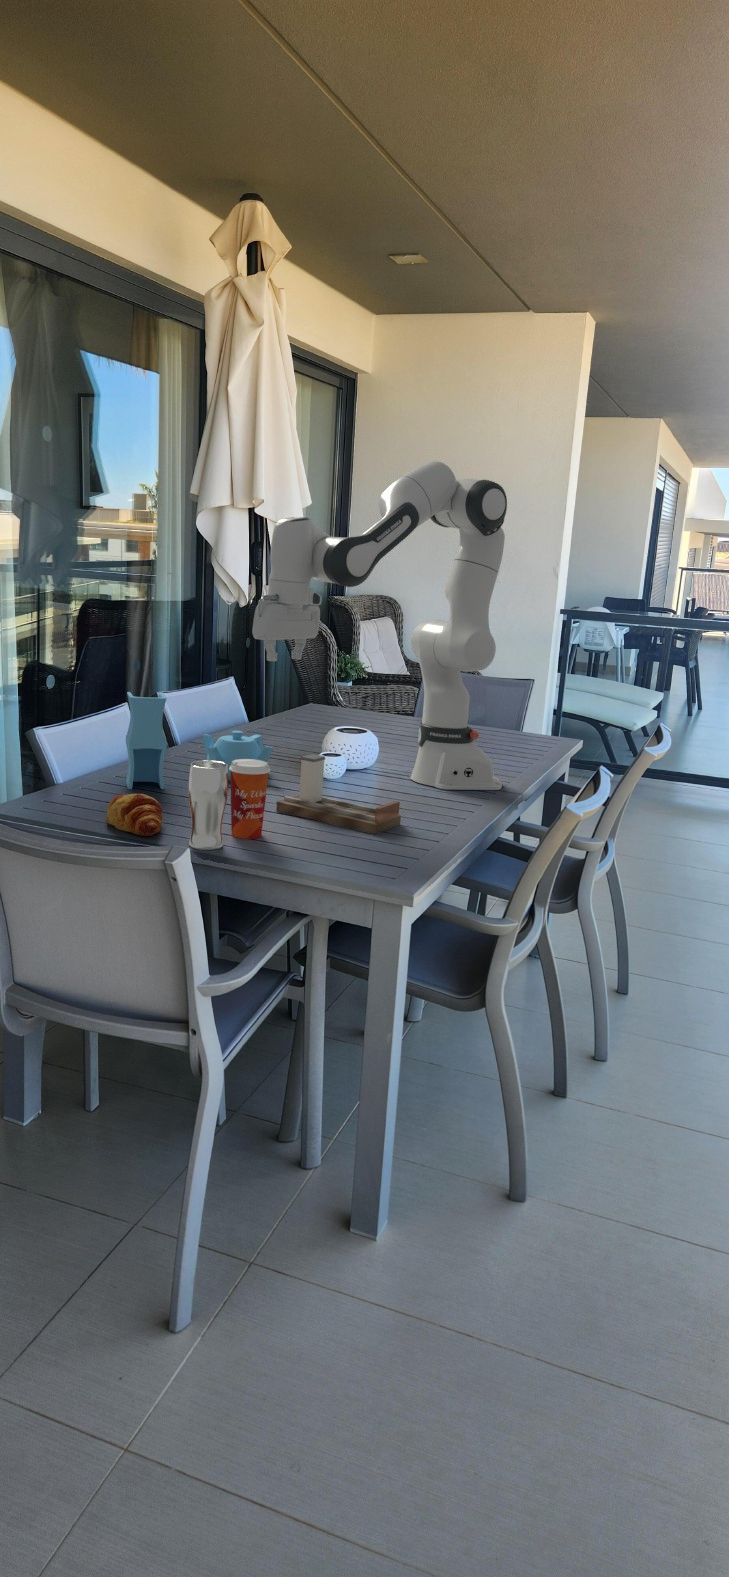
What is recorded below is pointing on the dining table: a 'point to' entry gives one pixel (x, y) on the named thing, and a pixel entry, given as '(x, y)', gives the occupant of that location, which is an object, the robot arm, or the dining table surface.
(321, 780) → the fader knob
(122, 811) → the croissant
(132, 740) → the vase
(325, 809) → the brown wooden tray
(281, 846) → the dining table surface
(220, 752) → the teapot
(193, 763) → the beer glass
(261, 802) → the paper cup
